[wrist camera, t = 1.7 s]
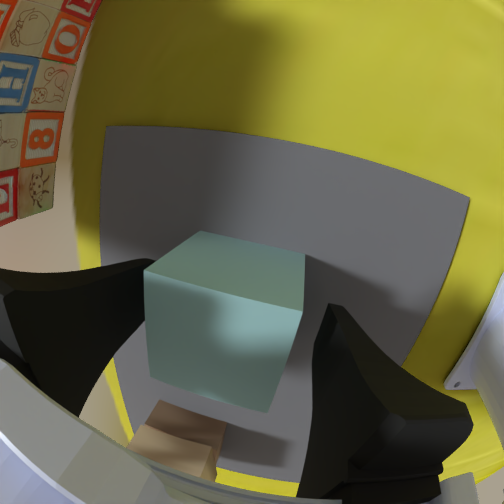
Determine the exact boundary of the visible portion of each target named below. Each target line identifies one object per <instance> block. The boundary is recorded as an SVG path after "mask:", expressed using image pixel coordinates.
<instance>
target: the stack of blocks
mask: <svg viewBox="0 0 504 504" xmlns="http://www.w3.org/2000/svg"><path fill="white" fill-rule="evenodd" d="M101 1H102V0H0V227H1V226H3V225H5V224H8V223H10V222H13V221H15V220H16V219H22V218H25V217H28V216H31V215H34V214H37V213H40V212H43V211H46V210H49V209H51V208H53V201H54V181H55V171H56V161H57V158H58V150H59V142H60V137H61V130H62V125H63V120H64V112H65V109H66V105H67V101H68V97H69V93H70V89H71V85H72V82H73V78H74V75H75V71H76V64H77V61H78V59H79V55H80V52H81V49H82V46H83V44H84V41H85V38H86V36H87V33H88V31H89V28H90V26H91V22H92V20H93V18H94V16H95V14H96V12H97V10H98V8H99V6H100V4H101Z"/></svg>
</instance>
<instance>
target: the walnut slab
mask: <svg viewBox="0 0 504 504" xmlns="http://www.w3.org/2000/svg"><path fill="white" fill-rule="evenodd" d="M145 426H146V427H149V428H151V429H154V430H157V431H160V432H163V433H166V434H169V435H172V436H175V437H178V438H181V439H185V440H188V441H192V442H195V443H199V444H203V445H207V446H211V447H212V450H213V456H214V461H215V466H216V464H217V461H218V458H219V455H220V453H221V449H222V444H223V440H224V435H225V430H226V426H227V422H225V421H221V420H218V419H214V418H211V417H208V416H205V415H201V414H198V413H195V412H192V411H189V410H187V409H184V408H181V407H178V406H176V405H173V404H170V403H168V402H165V401H163V400H160V399H159V401H158V402H157V404H156V406H155V407H154V409H153V411H152V412H151V414H150V415H149V417H148V419H147V420H146V422H145Z"/></svg>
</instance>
